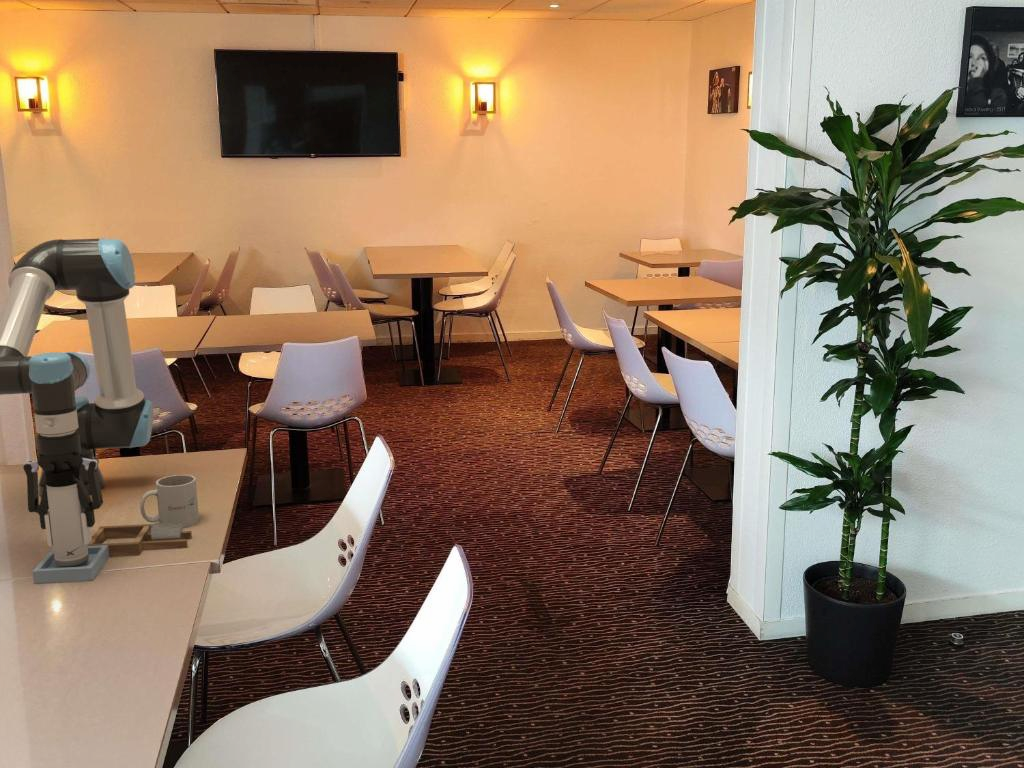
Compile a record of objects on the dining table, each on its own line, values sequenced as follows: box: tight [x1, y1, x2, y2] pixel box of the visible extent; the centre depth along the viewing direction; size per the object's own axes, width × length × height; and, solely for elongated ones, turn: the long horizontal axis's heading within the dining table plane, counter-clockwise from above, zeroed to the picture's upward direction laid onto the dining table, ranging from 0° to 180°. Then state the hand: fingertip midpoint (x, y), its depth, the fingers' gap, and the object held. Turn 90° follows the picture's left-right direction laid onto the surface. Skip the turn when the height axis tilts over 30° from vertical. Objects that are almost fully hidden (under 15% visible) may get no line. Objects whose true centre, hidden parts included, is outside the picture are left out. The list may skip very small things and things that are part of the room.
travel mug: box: [45, 467, 89, 567], centre depth 191 cm, size 6×7×20 cm
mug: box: [139, 474, 200, 528], centre depth 218 cm, size 12×9×10 cm
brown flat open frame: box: [87, 523, 193, 558], centre depth 206 cm, size 12×20×2 cm, turn 98°
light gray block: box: [151, 523, 184, 541], centre depth 206 cm, size 3×6×4 cm, turn 98°
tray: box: [32, 545, 110, 585], centre depth 193 cm, size 12×11×3 cm
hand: (70, 542), depth 192 cm, fingers closed on travel mug, 6 cm apart
